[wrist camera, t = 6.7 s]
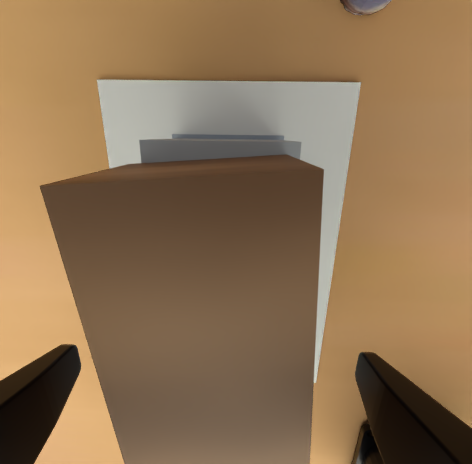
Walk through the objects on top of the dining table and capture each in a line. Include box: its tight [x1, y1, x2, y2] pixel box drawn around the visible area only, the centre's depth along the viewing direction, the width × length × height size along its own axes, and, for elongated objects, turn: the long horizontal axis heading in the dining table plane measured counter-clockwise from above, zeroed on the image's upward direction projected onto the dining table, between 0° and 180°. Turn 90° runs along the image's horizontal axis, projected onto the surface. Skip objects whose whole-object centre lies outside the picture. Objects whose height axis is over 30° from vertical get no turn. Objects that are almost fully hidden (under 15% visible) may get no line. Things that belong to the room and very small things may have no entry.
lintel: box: [40, 154, 324, 464], centre depth 9 cm, size 12×5×4 cm, turn 3°
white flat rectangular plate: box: [97, 80, 361, 383], centre depth 15 cm, size 18×12×1 cm, turn 179°
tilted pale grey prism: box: [139, 138, 301, 163], centre depth 11 cm, size 5×5×5 cm
